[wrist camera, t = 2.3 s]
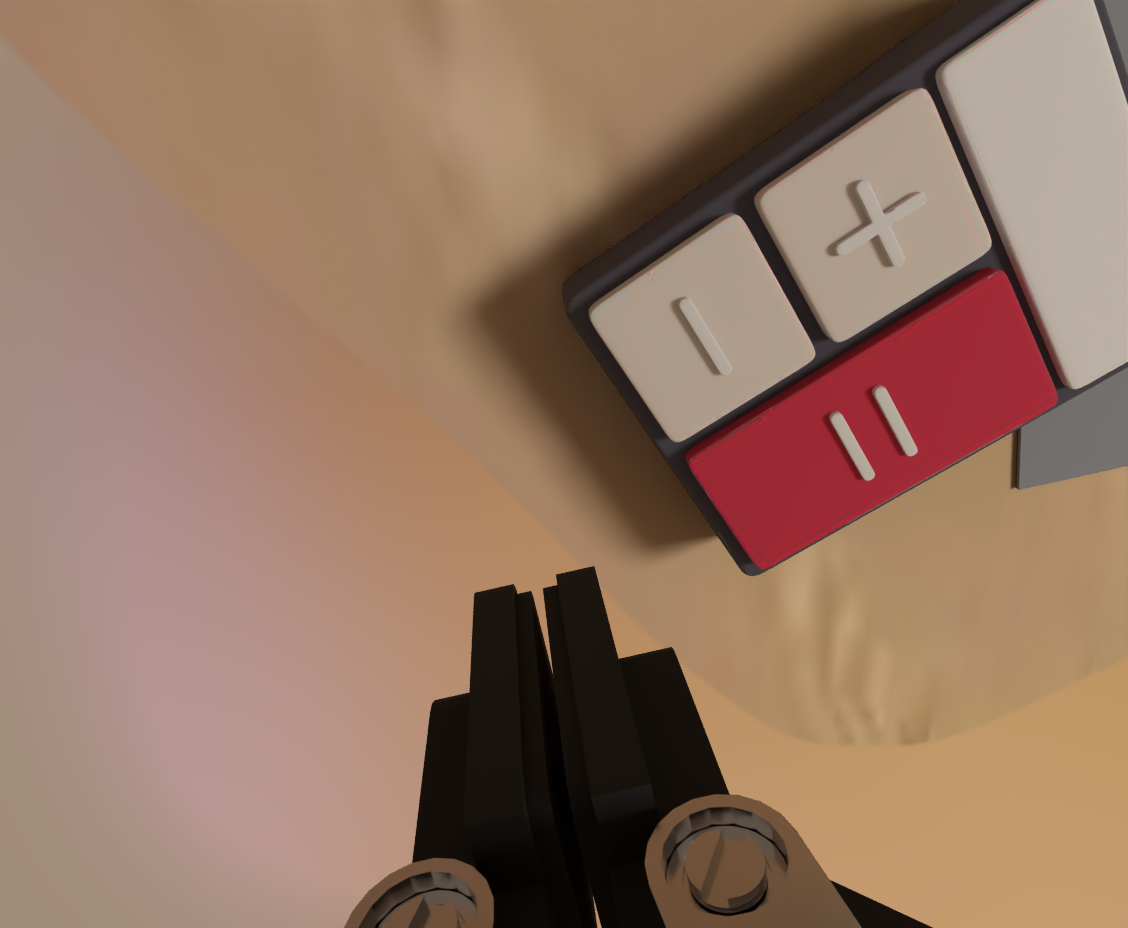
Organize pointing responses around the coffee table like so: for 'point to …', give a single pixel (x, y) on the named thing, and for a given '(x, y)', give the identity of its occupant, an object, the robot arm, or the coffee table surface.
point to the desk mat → (1081, 397)
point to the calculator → (881, 277)
